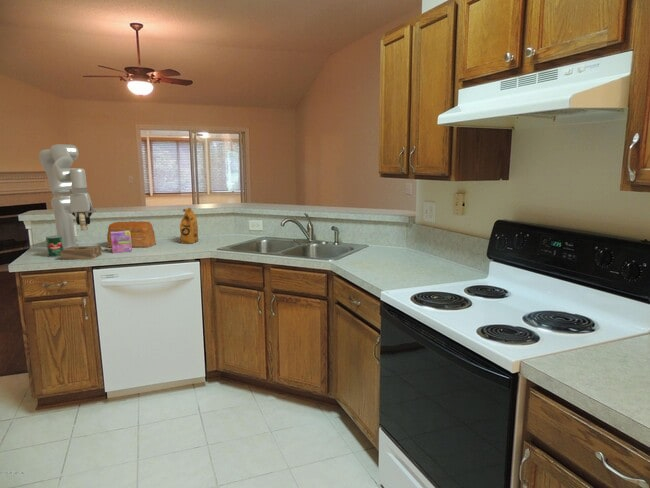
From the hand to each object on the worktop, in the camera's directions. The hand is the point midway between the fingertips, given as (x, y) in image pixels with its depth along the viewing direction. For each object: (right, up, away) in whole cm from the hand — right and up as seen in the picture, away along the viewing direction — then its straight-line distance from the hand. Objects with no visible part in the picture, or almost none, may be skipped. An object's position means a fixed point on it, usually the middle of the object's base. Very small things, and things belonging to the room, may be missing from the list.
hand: (83, 224), depth 251 cm
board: (0, -18, -2) cm, 18 cm away
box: (+16, -16, +13) cm, 26 cm away
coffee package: (+47, -10, +40) cm, 63 cm away
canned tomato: (-17, -18, +3) cm, 25 cm away
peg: (0, -3, +1) cm, 3 cm away
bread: (+14, -12, +31) cm, 36 cm away
